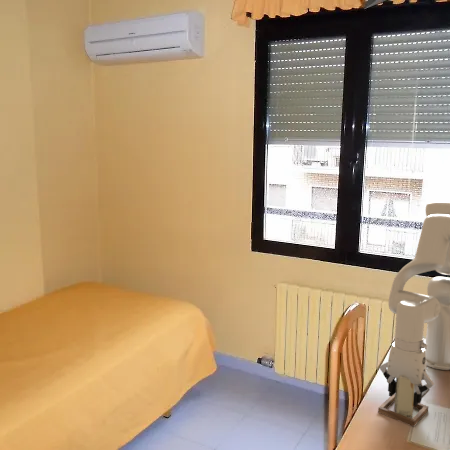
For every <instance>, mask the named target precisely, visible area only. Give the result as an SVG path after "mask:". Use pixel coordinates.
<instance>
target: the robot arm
mask: <svg viewBox="0 0 450 450" xmlns="http://www.w3.org/2000/svg"><path fill="white" fill-rule="evenodd" d="M425 216H426V218H424V220H423V224H422V228H421V232H420V235H419V240H418V244H417V249H416V253H415V256H414V258H413V259H412V260H411V261H410V262H408V263H407V264H405V265H404V266H403V267H402V268H401V269H400V270H399V271H398V272H397V274H396V275H395V277H394V279H393V280H392V285H391V290H390V293H389V297H388V308H389V311H390V312H392V313H393V314H395V315H396V317H395V330H394V342H393V343H392V344H391V347H390V351H389V355H388V360H387V361H386V362H385V363H382V364H381V365H379V368H378V369H379V370H380V371H381V373H382V374H383V376H384V377H385V379H386V382H387V383H388V386H387V391H388V396H389V397H390V396H393V395H394V394H395V390H396V378H398V379H399V376H402V377H405V378H408V379H410V381H411V383H412V384H415V387H414V388H415V390H416V392H415V393H414V401H413V405H414V406H416V405H417V404H418V403H422V398H423V396H422V392H424V391H426V390H427V389H429V390H430V388H432V387H434V385H435V382H434V381H433V380H432V378H431V377H430V376H429V375H428V373H427V370H428V369H427V367H429V368H431V369H432V368H433V369H436V370H441V371H449V370H450V277H449V276H450V200H442V199H441V200H440V199H437V200H431V201H429V202H428V203H426V207H425ZM431 271H435V272H437V273H439V274H441V275H445V276H435V277H432V278H431V279H429V280H428V283H427V287H426V288H427V289H426V291H427V292H426V293H427V294H424V293H423V294H422V293H418V292H413V291H408V290H404V287H405V285H406V284H407V282H408V281H409V280H410V279H411V278H413V277H416V276H417V275H420V274H423V273H427V272H431ZM446 275H447V277H446ZM425 324H426V338H425V342H424V330H425V329H424V327H425ZM422 381H425V383H426V384H424V385H423V382H422Z"/></svg>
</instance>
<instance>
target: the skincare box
mask: <svg viewBox="0 0 450 450" xmlns="http://www.w3.org/2000/svg"><path fill="white" fill-rule="evenodd" d="M395 381H396V390H395V401H394V409H395V412H396V413H398V414H401V415H403V416H405V417H408V418H410V419H412V418H413V417H414V416H413V413H414V407H413V401H414V387H415V384H412V383H411V381H410V379H408V378H405V377H402V376H399V379H398V378H395Z"/></svg>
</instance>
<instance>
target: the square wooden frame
mask: <svg viewBox="0 0 450 450" xmlns="http://www.w3.org/2000/svg"><path fill="white" fill-rule="evenodd" d="M394 403H395V394H394V395H393V396H389V397H388V398H387V399H386V400H385V401H384V402H383V403H382V404H381V405H379V406H378V407H377V409H378V410H377V412H378V413H379V414H382V415H384V416H387V417H389V418H391V419H394V420H396V421H398V422H401V423H403V424H405V425H409V426H411V427H413V428H414V427H415V426H416V425H417V424H418V423H419V421H421V419H422V418H423V417H424V416H425V415H426V414H427V412H429V406H428V405H426V404H423V403H422V402H420V403H418V404H417V405H416V406H414V405H413V409H417V410H419V411H418V412H416V414H415V415H414V416H412V418H408V417H405V416H403V415H401V414H398V413H396V411H393V410H391V409H388V408H389V407H390V406H391V405H392V404H394Z"/></svg>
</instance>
